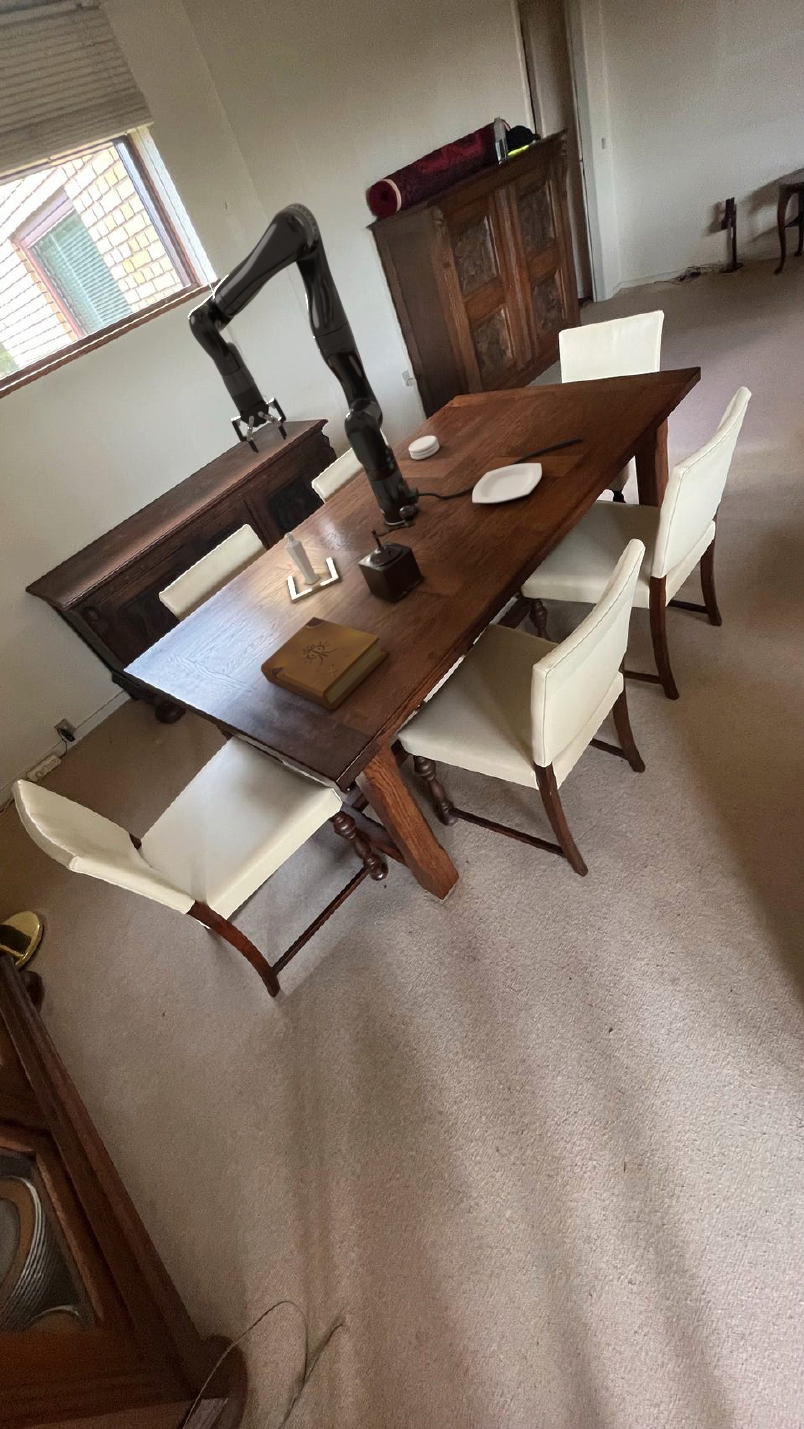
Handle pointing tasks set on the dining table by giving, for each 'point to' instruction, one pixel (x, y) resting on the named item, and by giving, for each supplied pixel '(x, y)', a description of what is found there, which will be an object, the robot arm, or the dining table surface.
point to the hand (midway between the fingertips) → (271, 445)
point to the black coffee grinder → (392, 564)
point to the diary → (323, 662)
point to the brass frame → (316, 588)
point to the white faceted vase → (300, 558)
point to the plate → (507, 483)
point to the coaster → (424, 447)
